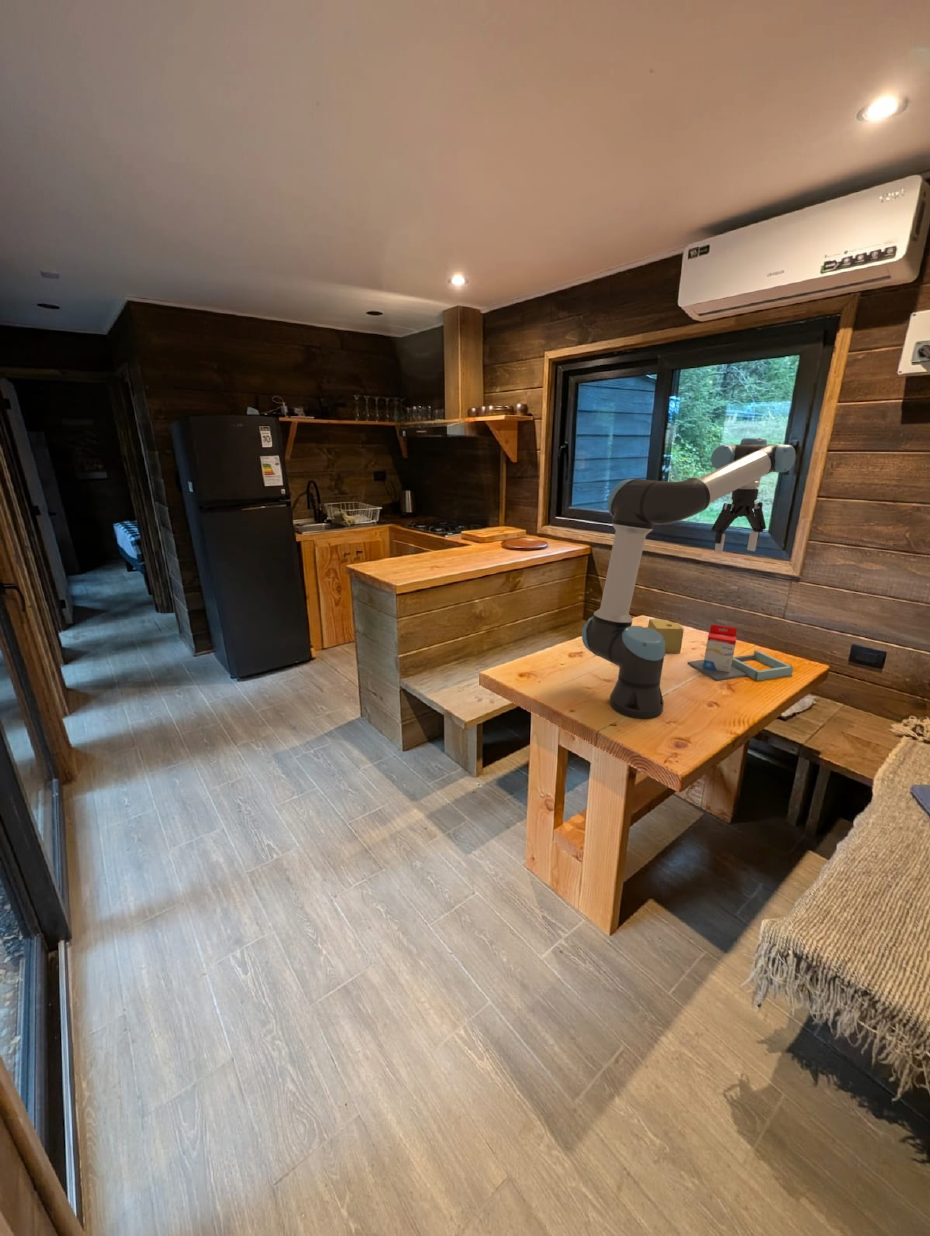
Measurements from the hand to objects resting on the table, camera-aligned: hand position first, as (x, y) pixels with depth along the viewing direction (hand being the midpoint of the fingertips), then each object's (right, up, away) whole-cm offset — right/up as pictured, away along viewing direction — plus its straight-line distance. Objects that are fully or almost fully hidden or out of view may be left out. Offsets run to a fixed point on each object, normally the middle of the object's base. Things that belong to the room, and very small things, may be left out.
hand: (734, 551), depth 171 cm
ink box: (-6, -40, +1) cm, 40 cm away
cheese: (-17, -34, +20) cm, 43 cm away
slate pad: (-6, -41, +1) cm, 41 cm away
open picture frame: (+9, -40, +2) cm, 41 cm away
